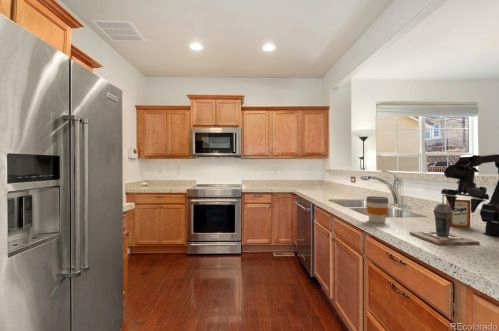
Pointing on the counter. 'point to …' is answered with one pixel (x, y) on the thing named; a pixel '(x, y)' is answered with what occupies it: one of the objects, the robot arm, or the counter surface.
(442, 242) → the base board
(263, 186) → the counter surface
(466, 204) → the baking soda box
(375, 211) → the reusable coffee cup
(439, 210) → the beverage cup
